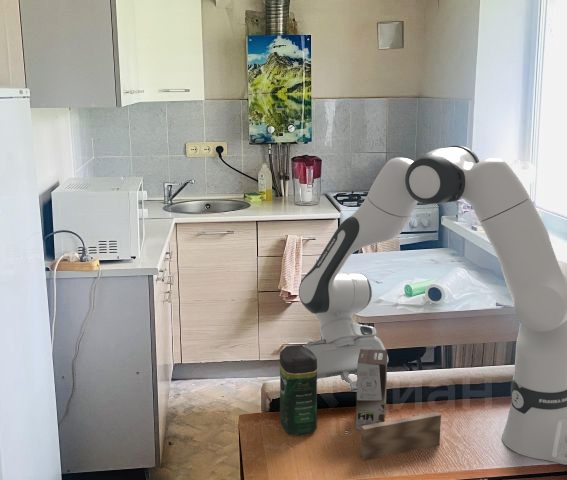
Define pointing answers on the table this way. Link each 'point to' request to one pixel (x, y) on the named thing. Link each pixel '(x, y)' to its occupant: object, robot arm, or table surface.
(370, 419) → the coffee box
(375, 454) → the keeper bracket
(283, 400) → the coffee jar
